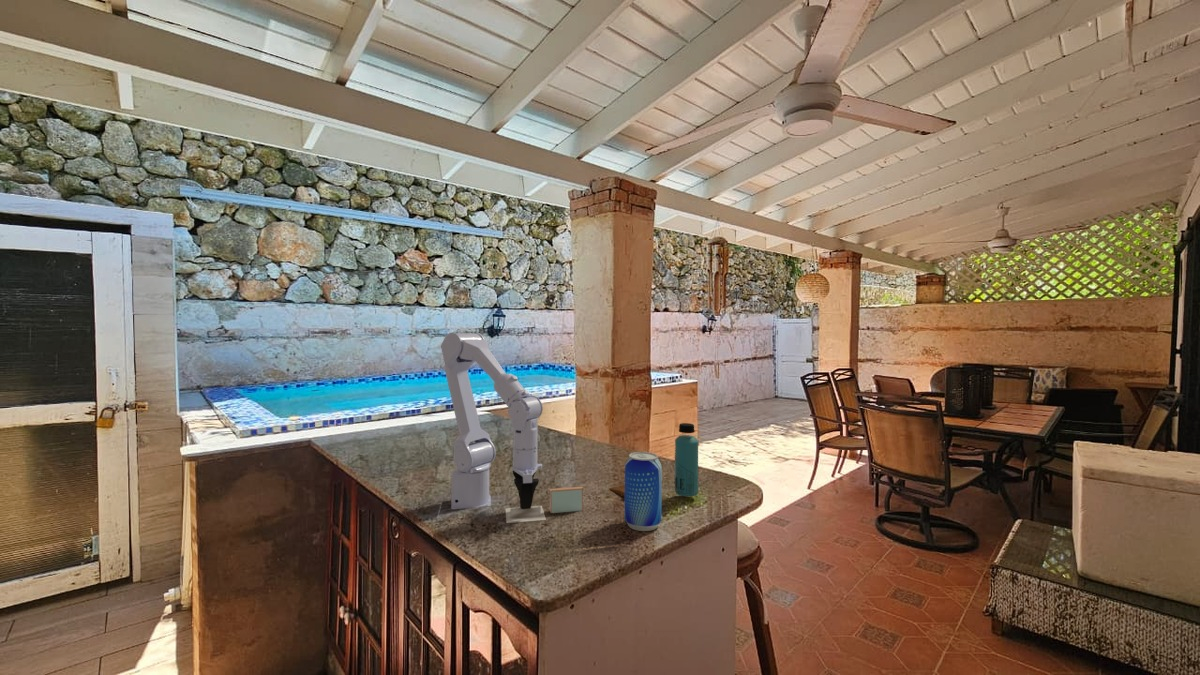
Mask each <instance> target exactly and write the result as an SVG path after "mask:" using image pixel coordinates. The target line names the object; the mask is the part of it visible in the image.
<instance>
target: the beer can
mask: <svg viewBox="0 0 1200 675" xmlns="http://www.w3.org/2000/svg"><path fill="white" fill-rule="evenodd" d="M658 458H659V457H658V455H657V454H656V453H653V452H650V451H649V452H647V451H635V452H631V453H630V454H628V459H627V460H626V462H625V465H624V485H625V498H624V521H625V522H626V524H627V527H628V528H630V529H632V530H634V531H638V532H639V531H640V532H651V531H654V530H656V529H658V527H659V525H660V524H661V522H662V489H663V488H662V487H663V486H662V483H663V482H662V480H663V479H662V476H663V474H662V472H663V468H662V464H661V462H660V460H659V459H658Z"/></svg>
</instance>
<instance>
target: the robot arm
mask: <svg viewBox="0 0 1200 675" xmlns="http://www.w3.org/2000/svg"><path fill="white" fill-rule="evenodd" d="M440 348H441V353H442V358H443V361H444V362H443V363H444V372H445V376H446V382H447V385H448V389H449V390H448V391H449V395H450V397H451V398H450V399H451V402H452V408H453V411H454V415H455V420H456V424H457V429H458V433H459V434H458V436H457V437H456V439H455V440H454V441H453V443H452V447H453V463H454V466H455V467H456V469H454V470H452V471H451V492H450V500H451V505H450V506H451V507H450V509H451V510H458V509H459V510H460V509H461V510H462V509H472V508H474V509H475V508H485V507H491V506H492V503H491V502H492V499H491V498H492V495H491V494H490V467H492V463H493V462H494V460H495V458H496V456H497V450H496V447H495V445H494V443H493V441H492V440H491V436H490V434H489V433H488V432H487V431H485V430H484V429H483V428H482V427H481V423H480V419H479V415H478V410H477V405H476V403H475V398H474V393H473V390H472V384H471V381H470V378H469V377H470V376H469V372H468V370H469V368H470V367H471V366H472V365H473V364H474V363H476V364H477V365H478V366H479V367H480V368H481V369H482V370H483V371H484V372H485V374H487V375H488V377H489V378H490V379H491V380H492V381H493V389H494V391H495V392H496V393H497V395H498V396H499V397H500V399H502V402H503V403H504V404H505V405H506V407H507V408H508V409H507V413H508V417H509V419H510V420H511V428H512V430H513V441H512V442H513V445H512V446H513V448H512V449H513V452H512V453H513V456H512V460H513V462H512V467H511V468H512V474H513V476H514V478H513V481H514V485H515V486H516V489H517V492H518V496H519V497H518V498H519V505H520V504H521V508H522V509H530V508H531V506H532V505H533V500H534V495H535V492H536V488H537V486H538V484H539V482H540V480H539V478H534V476H535V475H536V472H537V471H538V470H539V469H543V464H542V463H538V447H539V446H538V445H539V444H538V438H539V437H538V436H539V435H538V434H539V433H538V428H539V426H538V425H539V424H538V423H539V421H538V419H539V418H541V416H542V414H543V409H544V407H543V404H542V401H541V400H540V398H539V397H538V396H536V395H533V394H531V393H530V392H529V391H528V390H526V389H525V387H524V386H523V385H522V384H521V383H520V381H519V380H518V379H519V378H518V377H517V375H514V374H512V373H506V371H505V370H504V368H503V367H502V366H501V365H500V363H499V362H498V359H496V357H495V356H494V354H493V353H492V351H491V349H490V348H489V342H488V341H487V340H486V339H485V338H484V336H483V334H481V333H479V332H474V333H465V332H463V333H462V332H459V333H457V332H449V333H448V334H446V335H445V337H444V338H443V341H442V342H441V344H440ZM471 442H473V443H471Z"/></svg>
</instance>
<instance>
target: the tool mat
mask: <svg viewBox="0 0 1200 675" xmlns="http://www.w3.org/2000/svg"><path fill="white" fill-rule="evenodd" d="M538 506H540V507H541V516H533V517H522V518H511V517H510V509H512V508H513V507H507V508H505V521H506V524H513V523H524V522H536V521H537V522H538V521H546V520H547V518H546V514H545V511H544V509H543V506H542V505H533V506H532V505H531V507H538ZM517 508H520V506H519V507H517Z"/></svg>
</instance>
